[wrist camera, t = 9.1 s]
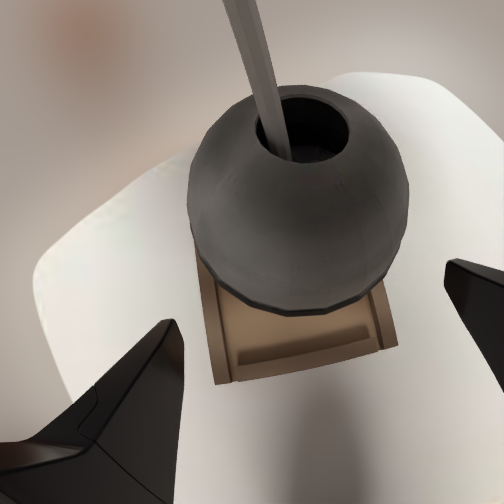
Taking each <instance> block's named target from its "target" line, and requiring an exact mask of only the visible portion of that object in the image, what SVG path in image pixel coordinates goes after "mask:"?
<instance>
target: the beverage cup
mask: <svg viewBox="0 0 504 504" xmlns="http://www.w3.org/2000/svg"><path fill="white" fill-rule="evenodd" d="M222 1H223V3H224V6H225V9H226V12H227V15H228V18H229V21H230V24H231V27H232V30H233V33H234V36H235V39H236V42H237V44H238V48H239V51H240V53H241V57H242V60H243V63H244V66H245V70H246V72H247V76H248V79H249V82H250V85H251V88H252V92H253V95H251V96H249V97H247V98H245V99H243V100H242V101H240V102H238V103H236V104H235V105H233V106H232V107H230V108H229V109H228V110H227V111H226V112H225V113H224V114H223V115H222V116H221V117H220V118H219V119H218V120H217V121H216V122H215V123H214V125H212V127H211V128H210V129H209V130H208V131H207V133H206V135H205V136H204V138H203V140H202V142H201V145H200V147H199V149H198V151H197V153H196V155H195V157H194V159H193V161H192V164H191V167H190V173H189V183H188V195H187V210H188V216H189V219H190V228H191V231H192V235H193V238H194V242H195V245H196V249H197V252H198V256H199V259H200V260H201V262H202V263H203V264H204V266H205V267H206V268H207V270H208V271H209V273H210V274H211V275H212V277H213V278H214V279H215V281H216V282H217V283H218V285H219V286H220V287H221V288H223V289H224V290H226V291H227V292H229V293H230V294H232V295H233V296H234V297H236V298H237V299H239V300H240V301H242V302H243V303H245V304H246V305H248V306H249V307H252V308H255V309H259V310H262V311H266V312H270V313H273V314H277V315H280V316H284V317H300V316H317V315H326V314H329V313H331V312H334V311H336V310H338V309H341V308H343V307H346V306H348V305H350V304H353V303H355V302H358V301H359V300H361V299H362V298H363V297H364V296H365V295H366V294H367V293H368V292H369V291H370V290H372V289H373V288H374V287H375V286H376V285H377V284H378V283H379V282H380V281H381V280H382V279H383V278H384V277H385V276H386V274H387V272H388V270H389V268H390V266H391V264H392V262H393V260H394V258H395V256H396V254H397V252H398V250H399V247H400V244H401V240H402V238H403V236H404V233H405V230H406V226H407V217H408V205H409V183H408V179H407V176H406V172H405V169H404V165H403V162H402V159H401V156H400V153H399V150H398V148H397V146H396V144H395V143H394V141H393V140H392V138H391V137H390V136H389V134H388V133H387V131H386V130H385V129H384V127H383V126H382V124H381V123H380V122H379V121H378V120H377V118H376V117H375V116H373V115H372V114H371V113H370V112H368V111H367V110H366V109H365V108H363V107H362V106H361V105H359V104H358V103H357V102H355V101H353V100H351V99H349V98H347V97H345V96H342V95H340V94H338V93H336V92H333V91H331V90H329V89H324V88H319V87H313V86H308V85H290V86H279V87H277V84H276V79H275V75H274V71H273V67H272V62H271V58H270V54H269V50H268V46H267V42H266V39H265V34H264V30H263V27H262V23H261V19H260V15H259V12H258V8H257V5H256V1H255V0H222Z"/></svg>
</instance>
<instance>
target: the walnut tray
mask: <svg viewBox="0 0 504 504" xmlns="http://www.w3.org/2000/svg"><path fill="white" fill-rule="evenodd" d="M194 244H195V242H194ZM195 253H196V261H197V269H198V277H199V285H200V293H201V300H202V307H203V314H204V321H205V328H206V334H207V341H208V347H209V353H210V360H211V366H212V371H213V377H214V383H215V385H219V384H227V383H231V382H235V381H238V382H241V381H247V380H254V379H260V378H265V377H271V376H276V375H282V374H287V373H292V372H297V371H302V370H306V369H311V368H316V367H320V366H324V365H329V364H333V363H337V362H341V361H345V360H349V359H353V358H356V357H360V356H364V355H367V354H371V353H374V352H378V350H385V349H388V348H391V347H395V346H398V341H397V337H396V332H395V328H394V323H393V319H392V315H391V310H390V306H389V302H388V298H387V294H386V291H385V287H384V283H383V279H382V280H381V281H380V282H379V283H378V284H377V285H376V286H375V287H374V288H373V289H372V290H370V291H369V292H368V293H367V294H366V295H365V296H364V297H363V298H362V299H361V300H359V301H358V302H355V303H353V304H350V305H348V306H346V307H343V308H341V309H338V310H336V311H334V312H331V313H329V314H326V315H317V316H300V317H284V316H280V315H277V314H273V313H270V312H266V311H262V310H259V309H255V308H252V307H249V306H248V305H246V304H245V303H243V302H242V301H240V300H239V299H237V298H236V297H234V296H233V295H232V294H230V293H229V292H227V291H226V290H224V289H223V288H221V287H220V286H219V285H218V283H217V282H216V281H215V279H214V278H213V277H212V275H211V274H210V273H209V271H208V270H207V268H206V267H205V266H204V264H203V263H202V262H201V260H200V259H199V256H198V252H197V249H196V245H195Z"/></svg>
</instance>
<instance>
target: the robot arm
mask: <svg viewBox="0 0 504 504" xmlns="http://www.w3.org/2000/svg"><path fill="white" fill-rule="evenodd" d="M444 287H445V290H446V292H447V293H448V295H449V297H450V299H451V301H452V303H453V305H454V306H455V308H456V310H457V312H458V314H459V316H460V318H461V320H462V322H463V323H464V325H465V327H466V328H467V330H468V331H469V333H470V334H471V336H472V338H473V339H474V341H475V343H476V344H477V346H478V348H479V349H480V351H481V353H482V354H483V356H484V358H485V359H486V361H487V363H488V365H489V366H490V368H491V370H492V372H493V374H494V375H495V377H496V379H497V381H498V383H499V385H500V387H501V389H502V390H503V392H504V271H501V270H497V269H494V268H490V267H487V266H483V265H480V264H476V263H473V262H469V261H466V260H462V259H458V258H456V259H452V260H449V261H447V263H446V268H445V276H444ZM183 393H184V341H183V338H182V335H181V333H180V330H179V328H178V325H177V323H176V321H175V320H174V319H165V320H161V321H160V322H159V323H158V324H157V325H156V326H155V327H153V328H152V329H151V330H150V331H149V332H148V333H147V334H146V335H145V336H144V337H143V338H142V339H141V340H140V341H139V342H138V343H137V344H136V345H135V346H133V347H132V348H131V349H130V350H129V351H128V352H127V353H126V354H125V355H124V356H123V357H122V358H121V359H120V360H119V361H118V362H117V363H116V364H115V365H114V366H112V367H111V368H110V369H109V370H108V371H107V372H106V373H105V374H104V375H103V376H102V377H101V378H100V379H99V380H98V381H97V382H96V383H95V384H94V385H93V386H92V387H91V388H90V389H89V390H87V391H86V392H85V393H84V394H83V395H82V396H81V397H80V398H79V399H78V400H77V401H76V402H75V403H73V404H72V405H71V406H70V407H69V408H68V409H66V410H65V411H64V412H63V413H62V414H60V415H59V416H58V417H57V418H55V419H54V420H53V421H52V422H50V423H49V424H48V425H47V426H46V427H44V428H43V429H42V430H41V431H40V432H38V433H37V434H35V435H34V436H33V437H31V438H29V439H26V440H23V441H19V442H0V504H173V501H174V487H175V474H176V462H177V450H178V440H179V429H180V420H181V410H182V402H183Z"/></svg>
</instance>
